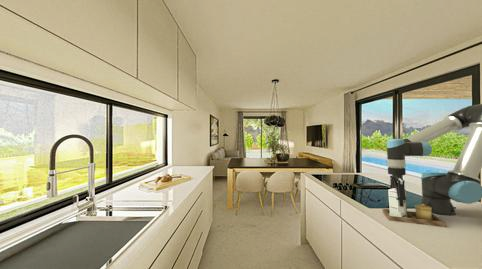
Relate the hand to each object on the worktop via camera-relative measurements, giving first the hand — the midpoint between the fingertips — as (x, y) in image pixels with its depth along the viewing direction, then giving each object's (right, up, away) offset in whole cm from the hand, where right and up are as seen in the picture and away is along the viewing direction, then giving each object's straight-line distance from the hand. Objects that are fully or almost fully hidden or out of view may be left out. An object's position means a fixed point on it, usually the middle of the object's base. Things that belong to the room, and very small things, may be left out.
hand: (398, 209), depth 104 cm
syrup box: (0, -4, 0) cm, 4 cm away
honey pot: (+10, -4, -4) cm, 11 cm away
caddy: (+5, -5, -2) cm, 7 cm away
